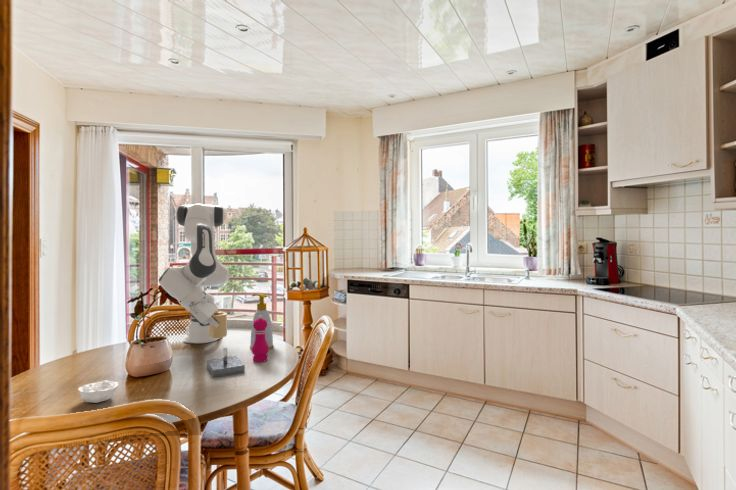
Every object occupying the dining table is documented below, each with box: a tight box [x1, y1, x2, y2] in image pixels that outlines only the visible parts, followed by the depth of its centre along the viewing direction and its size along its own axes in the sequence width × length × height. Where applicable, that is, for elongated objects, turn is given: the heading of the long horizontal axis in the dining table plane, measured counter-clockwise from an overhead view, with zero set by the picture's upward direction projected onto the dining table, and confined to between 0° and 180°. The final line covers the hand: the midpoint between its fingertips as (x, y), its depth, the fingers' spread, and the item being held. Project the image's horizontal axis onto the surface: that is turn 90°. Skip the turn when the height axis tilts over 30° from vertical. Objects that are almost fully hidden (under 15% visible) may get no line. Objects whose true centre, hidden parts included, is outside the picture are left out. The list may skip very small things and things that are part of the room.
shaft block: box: [206, 347, 246, 379], centre depth 165 cm, size 14×12×9 cm
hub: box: [209, 311, 228, 339], centre depth 164 cm, size 6×6×9 cm
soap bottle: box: [249, 293, 274, 350], centre depth 196 cm, size 11×12×26 cm
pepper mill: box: [251, 315, 270, 363], centre depth 178 cm, size 7×7×20 cm
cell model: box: [77, 379, 120, 404], centre depth 135 cm, size 10×12×7 cm
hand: (219, 323), depth 164 cm, fingers closed on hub, 6 cm apart
